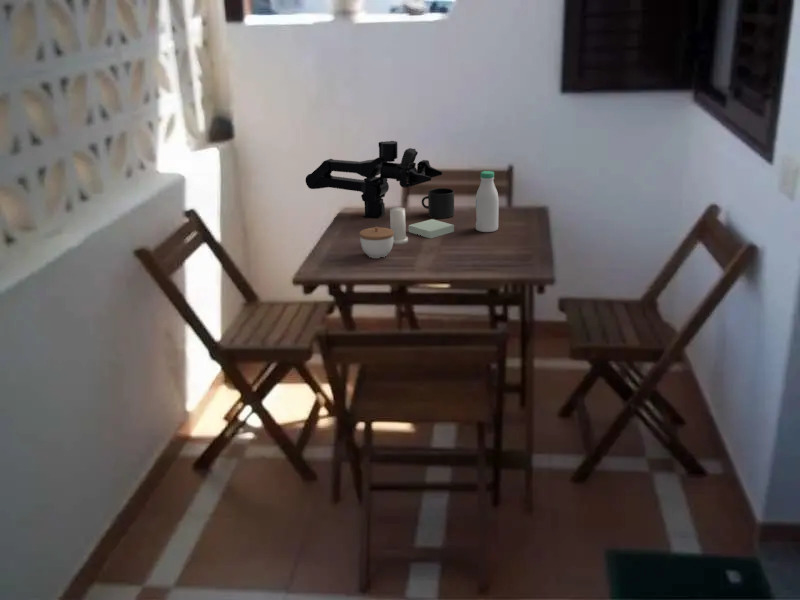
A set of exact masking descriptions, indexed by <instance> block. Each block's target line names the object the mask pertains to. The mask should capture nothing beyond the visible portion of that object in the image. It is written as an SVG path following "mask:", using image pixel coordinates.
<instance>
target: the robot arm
mask: <svg viewBox="0 0 800 600" xmlns="http://www.w3.org/2000/svg"><path fill="white" fill-rule="evenodd" d="M417 156H418V151H417V150H416V148H411V147H410V148H407V149H405V150H404V151H403V155H402V157H401V161H400V163H398V162H395V160H397V159H398V141H396V140H390V141H389V140H386V141H379V142H378V157H376V158H374V159H367V160H362V161H357V160H356V161H354V160H342V159H333V158H329V159H325V160H323V161H322V162H321V164H320V165H319V166H318V167H316V169H315V170H314V171H312V172H311V173H309V174H307V175H306V177H305V184H306V186H307V188H308V189H310V190H317V189H318V190H319V189H325V188H327V189H328V188H331V189H340V190H346V191H351V192H352V191H353V192H354V191H355V192H360V193H362V194H361V195H360V196H361V197H360V198H361V199H362V202H364V214H363V215H362V217H363V218H364V217H365V218H372V219H373V218H375V219H380V218H381V217H382V216H383V217H384V216H385V215H386V213H387V212H386V209H385V207H386V206H385V205H386V204H385V203H384V198H385V196H386V194H387V193H388V191H389V189H390V186H389V183H388V179H389V180H395V181H396V182H399V186H400V187H401V188H406V189H407V188H411V187H413V186H418V185H420V184H421V185H422V184H424V183H427V182H430V181H432V178H435V177H439V176H442V175H443V171H442V170H439V169H437V168H435V167H432V166H431V165H430V160H427V159H422V160H420V161H418V163H416V162H415V160H416V159H417ZM416 164H417V165H416ZM416 166H417V167H416ZM332 172H337V173H338V172H340V173H350V174H357V175H359V176H361V177H364V179H357V178H352V177H344V176H343V177H342V176H335V175H332ZM384 214H385V215H384Z"/></svg>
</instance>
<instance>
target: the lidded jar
mask: <svg viewBox="0 0 800 600" xmlns="http://www.w3.org/2000/svg"><path fill="white" fill-rule="evenodd" d="M393 235H394V231H393V230H391V228H387V227H379V226H374V227H368V228H365V229H362V230H361V231H360V232H359V240H360V245H361V249H362V251H363V252H364V254H366V255H367V257H368V256H369V257H368V258H370V257H372V258H371V259H381V258H380V257H384V258H386V257H387V256H388V255H389V253H390V252H391V250H392V248H393V246H394V244H393V239H394V237H393ZM385 256H386V257H385Z"/></svg>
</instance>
